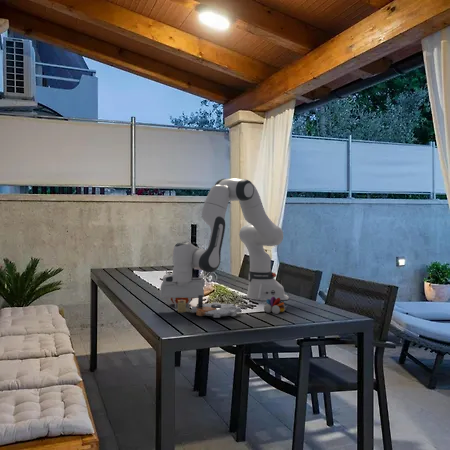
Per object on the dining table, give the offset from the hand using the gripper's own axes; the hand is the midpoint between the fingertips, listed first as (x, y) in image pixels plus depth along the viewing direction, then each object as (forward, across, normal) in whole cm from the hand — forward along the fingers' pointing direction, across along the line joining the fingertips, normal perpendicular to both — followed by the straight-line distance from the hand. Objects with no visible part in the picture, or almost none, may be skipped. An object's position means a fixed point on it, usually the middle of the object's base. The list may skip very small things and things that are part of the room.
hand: (181, 307), depth 219 cm
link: (+2, 0, 0) cm, 2 cm away
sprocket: (0, -15, +9) cm, 17 cm away
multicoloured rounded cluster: (+2, -42, +3) cm, 43 cm away
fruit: (+2, 0, -14) cm, 14 cm away
